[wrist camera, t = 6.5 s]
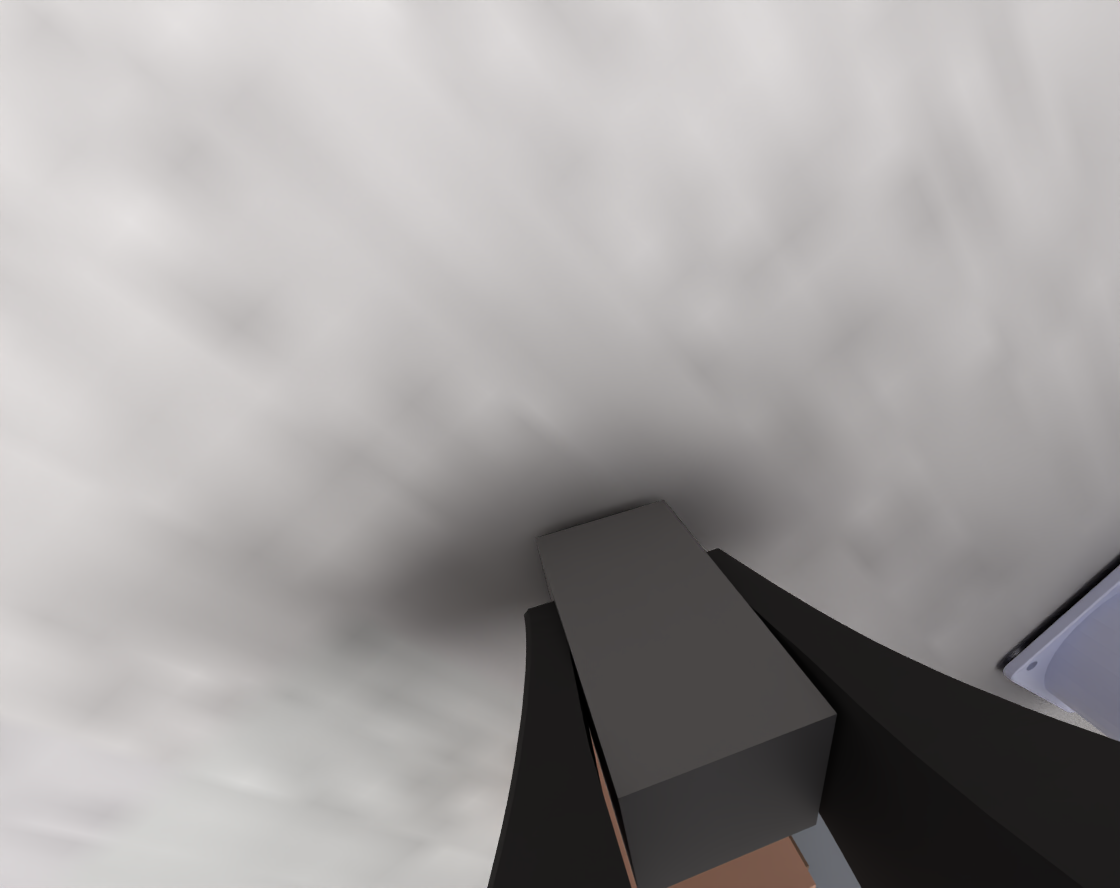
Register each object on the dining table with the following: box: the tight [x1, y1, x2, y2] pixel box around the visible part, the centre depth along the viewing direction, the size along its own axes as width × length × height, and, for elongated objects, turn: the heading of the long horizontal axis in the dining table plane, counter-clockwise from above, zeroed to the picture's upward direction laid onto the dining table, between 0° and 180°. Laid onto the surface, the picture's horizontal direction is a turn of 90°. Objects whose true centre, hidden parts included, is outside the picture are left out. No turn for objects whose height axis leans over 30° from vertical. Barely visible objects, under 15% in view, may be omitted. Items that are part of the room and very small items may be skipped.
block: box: [791, 812, 861, 888], centre depth 19 cm, size 5×5×5 cm
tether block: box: [536, 500, 837, 888], centre depth 12 cm, size 5×13×6 cm, turn 11°
